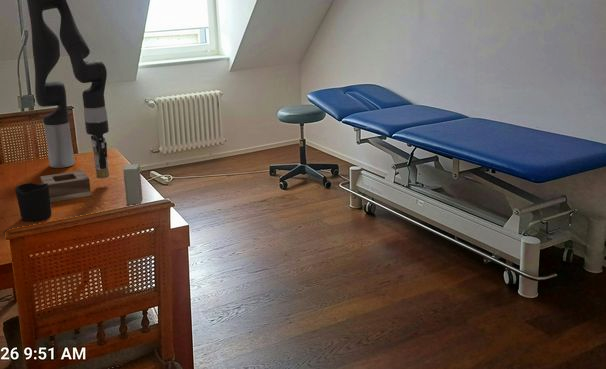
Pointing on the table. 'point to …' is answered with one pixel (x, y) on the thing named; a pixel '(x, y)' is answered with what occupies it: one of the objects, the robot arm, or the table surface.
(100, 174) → the sprinkles bottle
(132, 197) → the skincare box
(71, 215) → the table surface
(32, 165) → the table surface
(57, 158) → the robot arm
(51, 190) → the socket block
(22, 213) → the pen holder
